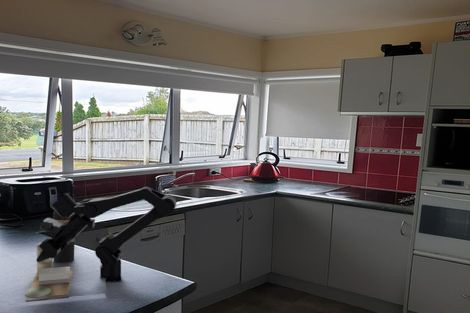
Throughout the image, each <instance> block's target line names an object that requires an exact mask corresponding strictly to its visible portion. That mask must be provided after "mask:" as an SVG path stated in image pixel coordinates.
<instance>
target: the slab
mask: <svg viewBox="0 0 470 313" xmlns="http://www.w3.org/2000/svg"><path fill="white" fill-rule="evenodd" d="M70 270H71V266H59V267H52V268H43V269H41V270H40V273H39V286H41V285H52V284H64V283H69V280H70Z"/></svg>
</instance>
